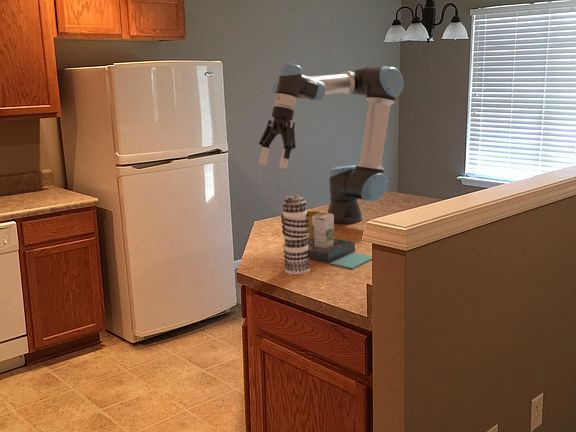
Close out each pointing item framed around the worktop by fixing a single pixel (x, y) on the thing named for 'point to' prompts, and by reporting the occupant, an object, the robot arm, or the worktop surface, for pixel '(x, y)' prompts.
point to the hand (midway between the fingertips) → (272, 166)
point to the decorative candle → (295, 235)
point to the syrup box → (323, 230)
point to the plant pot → (311, 213)
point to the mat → (352, 261)
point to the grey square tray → (330, 250)
